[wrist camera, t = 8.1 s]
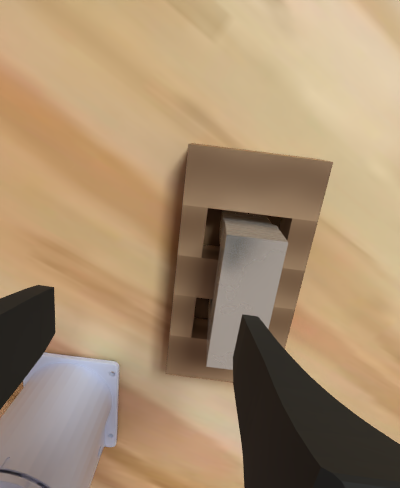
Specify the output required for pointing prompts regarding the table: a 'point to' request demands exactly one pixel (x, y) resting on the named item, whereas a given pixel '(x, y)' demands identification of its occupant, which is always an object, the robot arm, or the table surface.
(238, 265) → the grey arch block
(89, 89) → the table surface
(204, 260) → the walnut mortise block
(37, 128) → the table surface
